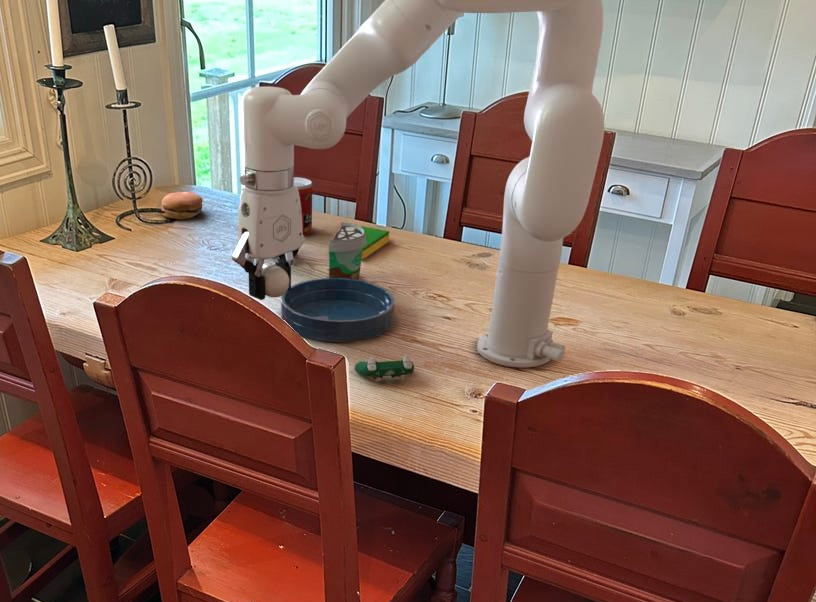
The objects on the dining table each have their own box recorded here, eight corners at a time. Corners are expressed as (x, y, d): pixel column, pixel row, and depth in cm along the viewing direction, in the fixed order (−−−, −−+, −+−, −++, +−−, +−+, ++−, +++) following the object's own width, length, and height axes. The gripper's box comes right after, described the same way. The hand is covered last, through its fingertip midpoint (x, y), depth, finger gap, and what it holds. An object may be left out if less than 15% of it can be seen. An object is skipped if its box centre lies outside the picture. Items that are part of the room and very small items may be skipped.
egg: (296, 296, 137) (296, 267, 135) (273, 304, 134) (273, 274, 132) (266, 284, 141) (266, 255, 138) (244, 292, 138) (243, 262, 135)
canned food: (311, 237, 190) (311, 186, 184) (275, 236, 190) (275, 185, 184) (312, 226, 196) (313, 177, 190) (278, 225, 196) (277, 176, 190)
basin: (416, 320, 153) (417, 299, 151) (339, 354, 141) (340, 332, 139) (335, 289, 164) (335, 269, 162) (258, 318, 152) (257, 297, 150)
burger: (166, 221, 196) (164, 201, 194) (158, 210, 203) (156, 190, 201) (208, 218, 199) (207, 198, 197) (198, 207, 206) (197, 187, 204)
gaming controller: (355, 387, 135) (362, 376, 129) (353, 364, 136) (359, 352, 130) (411, 384, 137) (420, 372, 131) (409, 361, 137) (417, 349, 131)
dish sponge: (332, 254, 181) (333, 243, 180) (360, 236, 191) (361, 225, 190) (362, 260, 178) (363, 248, 177) (389, 241, 189) (390, 230, 187)
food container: (358, 295, 162) (361, 243, 157) (327, 291, 163) (328, 240, 158) (369, 272, 172) (372, 223, 167) (340, 270, 173) (341, 221, 168)
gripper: (242, 193, 120) (246, 313, 130) (325, 173, 130) (323, 286, 141) (208, 182, 124) (214, 299, 134) (292, 163, 135) (291, 274, 145)
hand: (270, 291), depth 137 cm, fingers closed on egg, 5 cm apart
